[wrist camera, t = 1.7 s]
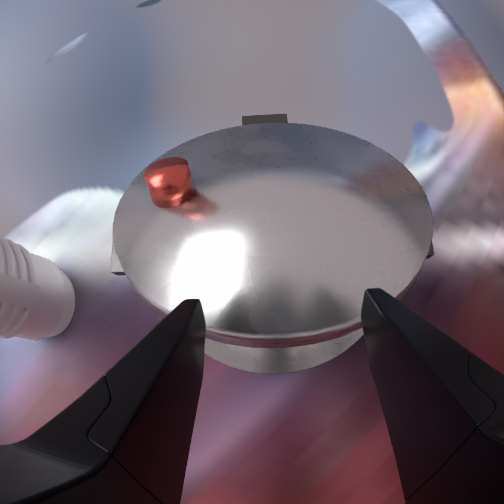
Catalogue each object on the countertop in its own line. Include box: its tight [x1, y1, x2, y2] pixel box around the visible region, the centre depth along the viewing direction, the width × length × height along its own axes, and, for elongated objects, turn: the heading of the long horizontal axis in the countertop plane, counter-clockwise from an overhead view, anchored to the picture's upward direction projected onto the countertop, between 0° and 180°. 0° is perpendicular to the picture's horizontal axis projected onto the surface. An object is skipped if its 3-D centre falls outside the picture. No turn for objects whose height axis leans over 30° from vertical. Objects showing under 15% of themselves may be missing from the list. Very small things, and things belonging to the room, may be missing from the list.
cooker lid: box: [113, 123, 433, 348], centre depth 14 cm, size 14×14×2 cm
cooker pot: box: [111, 114, 434, 374], centre depth 21 cm, size 16×20×5 cm
